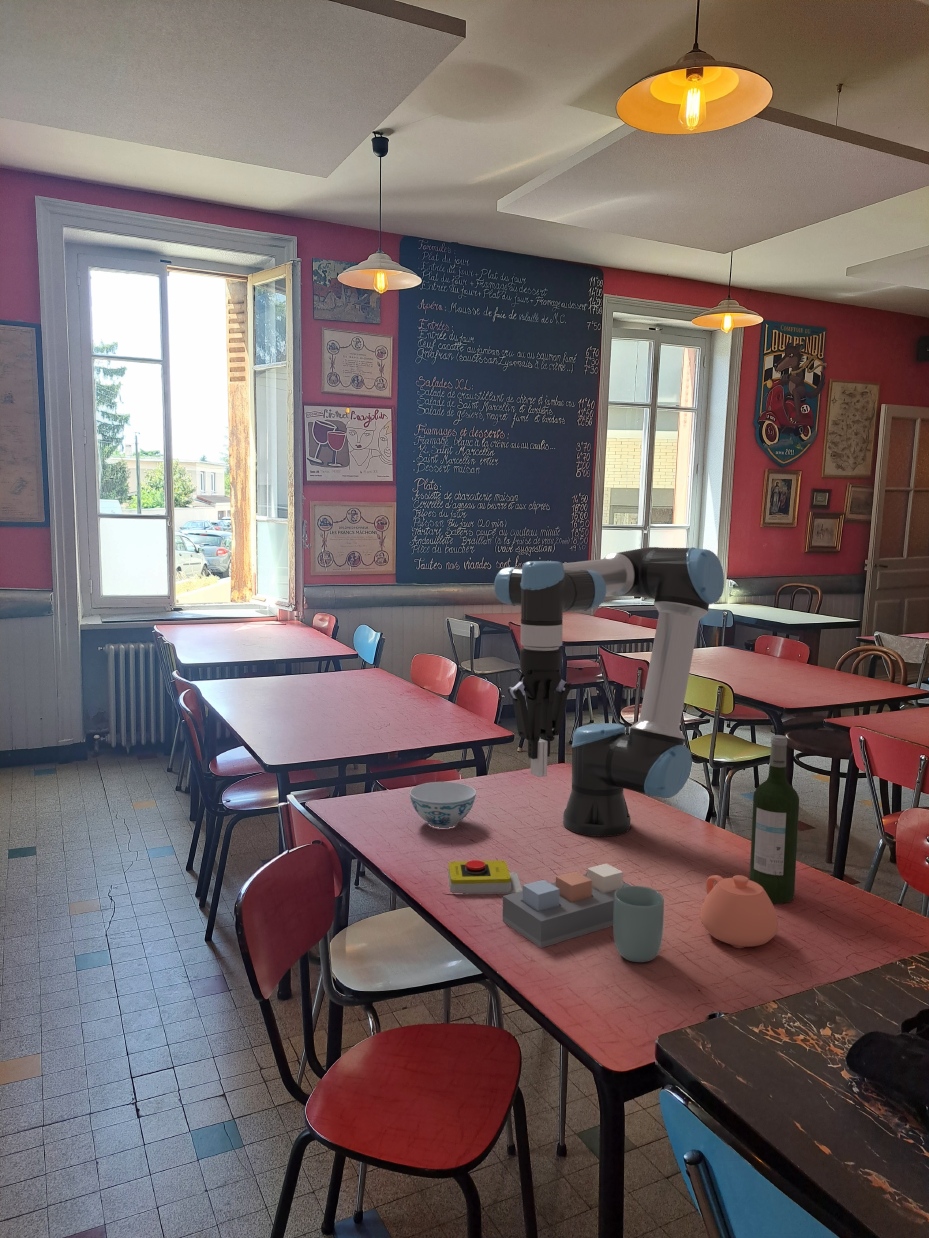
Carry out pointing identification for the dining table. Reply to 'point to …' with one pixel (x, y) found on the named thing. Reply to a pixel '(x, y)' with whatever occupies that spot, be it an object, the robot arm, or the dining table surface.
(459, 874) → the emergency button
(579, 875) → the orange key
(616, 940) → the cup
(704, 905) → the sugar bowl
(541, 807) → the dining table surface
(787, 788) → the wine bottle
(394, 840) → the dining table surface
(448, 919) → the dining table surface
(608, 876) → the ivory key
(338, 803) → the dining table surface
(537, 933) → the key panel
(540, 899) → the blue key
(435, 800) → the chinaware
